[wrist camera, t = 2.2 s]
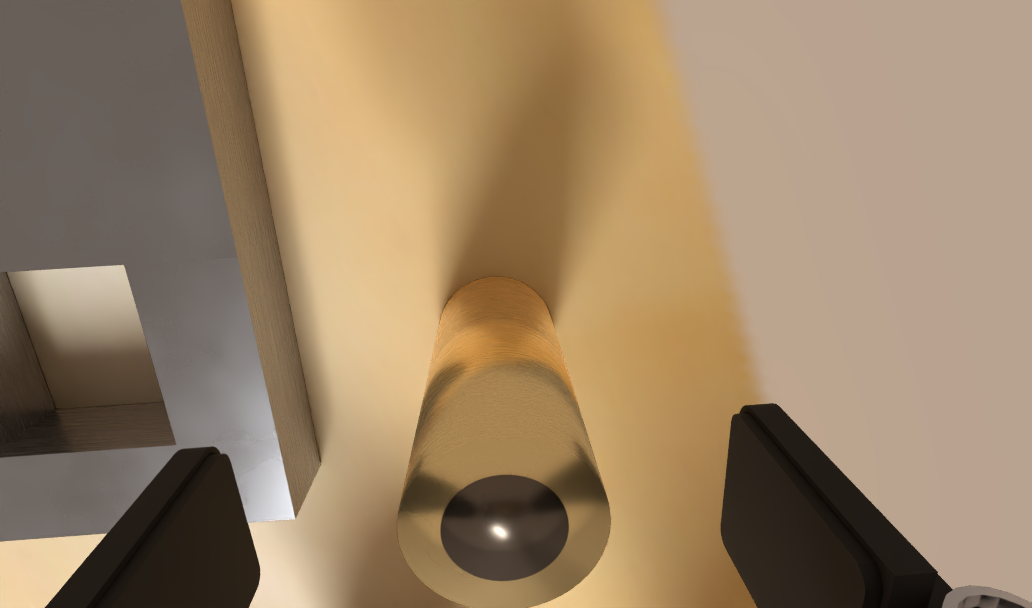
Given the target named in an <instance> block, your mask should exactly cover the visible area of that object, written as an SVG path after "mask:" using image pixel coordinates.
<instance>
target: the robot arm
mask: <svg viewBox="0 0 1032 608" xmlns="http://www.w3.org/2000/svg"><path fill="white" fill-rule="evenodd" d="M721 536H722V540H723V543H724V546H725V548H726V550H727V552H728V554H729V556H730V557H731V559H732V561H733V563H734V565H735V567H736V568H737V570H738V572H739V574H740V576H741V578H742V580H743V581H744V583H745V585H746V587H747V589H748V591H749V593H750V594H751V596H752V598H753V600H754V602H755V604H756V606H757V607H758V608H1032V603H1031V602H1029V601H1027V600H1024V599H1022V598H1020V597H1018V596H1015V595H1013V594H1011V593H1008V592H1004V591H1001V590H997V589H994V588H990V587H981V586H965V587H959V588H955V589H954V590H953V589H952V588H951V587H950V586H949V585H948V584H947V583H946V582H945V581H944V580H943V579H942V578H941V577H940V576H939V575H938V574H937V573H938V572H937V571H936V570H935V569H934V568H933V567H932V566H931V565H930V564H929V563H928V561H927V560H926V559H925V558H924V557H923V556H922V555H921V554H920V553H919V552H918V551H917V550H916V549H915V548H914V547H913V546H912V545H911V544H910V543H909V542H908V541H907V539H906V538H905V537H904V536H903V535H902V534H901V533H900V532H899V531H898V530H897V529H896V528H895V527H894V526H893V525H892V524H891V523H890V522H889V521H888V520H887V519H886V517H885V516H883V514H882V513H881V512H880V511H879V510H878V509H877V508H876V507H875V506H874V505H873V504H872V503H871V502H870V501H869V500H868V499H867V498H866V497H865V496H864V494H863V493H862V492H861V491H860V490H859V489H858V488H857V487H856V486H855V485H854V484H853V483H852V482H851V481H850V480H849V479H848V478H847V477H846V476H845V475H844V474H843V473H842V471H841V470H840V469H839V468H837V466H836V465H835V464H834V463H833V462H832V461H831V460H830V459H829V458H828V457H827V456H826V455H825V454H824V453H823V452H822V451H821V450H820V448H819V447H818V446H817V445H816V444H815V443H814V442H813V441H812V440H811V439H810V438H809V437H808V436H807V435H806V434H805V433H804V432H803V431H802V430H801V429H800V427H798V426H797V424H796V423H795V422H794V421H793V420H792V419H791V418H790V417H789V416H788V415H787V414H786V413H785V412H784V411H783V410H782V409H781V408H780V407H779V406H778V405H777V404H773V403H771V404H758V405H745V406H743V407H742V409H741V411H740V414H735V415H733V417H732V421H731V429H730V439H729V449H728V459H727V469H726V479H725V488H724V498H723V508H722V518H721ZM259 580H260V566H259V562H258V558H257V554H256V551H255V547H254V544H253V540H252V536H251V533H250V529H249V526H248V522H247V518H246V515H245V511H244V507H243V504H242V500H241V497H240V493H239V489H238V486H237V482H236V479H235V475H234V471H233V468H232V464H231V461H230V458H229V456H228V455H227V454H221V453H220V451H219V450H218V449H217V448H216V447H214V446H211V447H198V448H185V449H180V450H178V451H177V452H176V453H175V454H174V455H173V456H172V457H171V459H170V460H169V461H168V462H167V463H166V465H165V466H164V467H163V468H162V469H161V471H160V472H159V473H158V474H157V475H156V476H155V478H154V479H153V480H152V481H151V482H150V484H149V485H148V486H147V487H146V488H145V490H144V491H143V492H142V493H141V494H140V495H139V497H138V498H137V499H136V500H135V501H134V503H133V504H132V505H131V506H130V507H129V509H128V510H127V511H126V512H125V513H124V514H123V516H122V517H121V518H120V519H119V520H118V522H117V523H116V524H115V525H114V526H113V528H112V529H111V530H110V531H109V532H108V533H107V535H106V536H105V537H104V538H103V539H102V541H101V542H100V543H99V544H98V545H97V547H96V548H95V549H94V550H93V551H92V552H91V554H90V555H89V556H88V557H87V558H86V560H85V561H84V562H83V563H82V564H81V566H80V567H79V568H78V569H77V570H76V571H75V573H74V574H73V575H72V576H71V577H70V579H69V580H68V581H67V582H66V583H65V585H64V586H63V587H62V588H61V589H60V590H59V592H58V593H57V594H56V595H55V596H54V598H53V599H52V600H51V601H50V602H49V604H48V605H47V606H46V607H45V608H249V606H250V604H251V601H252V599H253V597H254V595H255V592H256V590H257V587H258V585H259Z"/></svg>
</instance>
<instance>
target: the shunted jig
mask: <svg viewBox="0 0 1032 608" xmlns="http://www.w3.org/2000/svg"><path fill="white" fill-rule="evenodd" d="M110 265H124V266H125V269H126V273H127V276H128V280H129V283H130V287H131V290H132V293H133V297H134V300H135V304H136V307H137V311H138V314H139V317H140V321H141V324H142V328H143V331H144V335H145V338H146V342H147V345H148V348H149V352H150V355H151V359H152V362H153V366H154V369H155V373H156V376H157V379H158V383H159V386H160V390H161V393H162V397H163V400H164V402H158V403H144V404H129V405H115V406H100V407H86V408H71V409H57V410H56V409H55V406H54V404H53V401H52V398H51V395H50V393H49V390H48V387H47V384H46V382H45V379H44V376H43V373H42V371H41V368H40V365H39V363H38V360H37V357H36V354H35V352H34V349H33V346H32V343H31V341H30V338H29V335H28V332H27V330H26V327H25V324H24V321H23V319H22V316H21V313H20V310H19V308H18V305H17V302H16V299H15V297H14V294H13V291H12V288H11V286H10V283H9V280H8V277H7V275H6V272H12V271H29V270H45V269H61V268H77V267H94V266H110ZM211 446H214V447H216V448H217V449H218V450H219V451H220V453H221V454H227V455H228V456H229V458H230V461H231V464H232V468H233V471H234V475H235V479H236V482H237V486H238V489H239V493H240V497H241V500H242V504H243V507H244V511H245V515H246V518H247V522H248V523H250V522H263V521H276V520H290V519H296V517H297V515H298V512H299V510H300V508H301V506H302V504H303V502H304V500H305V497H306V495H307V493H308V491H309V489H310V487H311V485H312V482H313V480H314V478H315V476H316V474H317V472H318V470H319V467H320V465H321V464H320V459H319V453H318V448H317V443H316V438H315V433H314V428H313V423H312V418H311V412H310V407H309V402H308V397H307V392H306V387H305V382H304V377H303V371H302V366H301V361H300V356H299V351H298V346H297V341H296V336H295V330H294V325H293V320H292V315H291V310H290V305H289V300H288V295H287V289H286V284H285V279H284V274H283V269H282V264H281V259H280V253H279V248H278V243H277V238H276V233H275V228H274V223H273V218H272V212H271V207H270V202H269V197H268V192H267V187H266V182H265V177H264V171H263V166H262V161H261V156H260V151H259V146H258V141H257V136H256V130H255V125H254V120H253V115H252V110H251V105H250V100H249V95H248V89H247V84H246V79H245V74H244V69H243V64H242V59H241V54H240V48H239V43H238V38H237V33H236V28H235V23H234V18H233V12H232V7H231V2H230V0H0V541H12V540H26V539H39V538H52V537H65V536H78V535H92V534H105V533H108V532H109V531H110V530H111V529H112V528H113V526H114V525H115V524H116V523H117V522H118V520H119V519H120V518H121V517H122V516H123V514H124V513H125V512H126V511H127V510H128V509H129V507H130V506H131V505H132V504H133V503H134V501H135V500H136V499H137V498H138V497H139V495H140V494H141V493H142V492H143V491H144V490H145V488H146V487H147V486H148V485H149V484H150V482H151V481H152V480H153V479H154V478H155V476H156V475H157V474H158V473H159V472H160V471H161V469H162V468H163V467H164V466H165V465H166V463H167V462H168V461H169V460H170V459H171V457H172V456H173V455H174V454H175V453H176V452H177V451H178V450H180V449H185V448H198V447H211Z"/></svg>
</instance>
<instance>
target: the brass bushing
mask: <svg viewBox="0 0 1032 608" xmlns="http://www.w3.org/2000/svg"><path fill="white" fill-rule="evenodd" d="M610 525H611V516H610V507H609V503H608V499H607V495H606V492H605V489H604V486H603V483H602V480H601V476H600V473H599V470H598V467H597V464H596V460H595V457H594V454H593V451H592V448H591V444H590V441H589V438H588V435H587V432H586V428H585V425H584V422H583V419H582V416H581V412H580V409H579V406H578V403H577V400H576V396H575V393H574V390H573V387H572V384H571V380H570V377H569V374H568V371H567V368H566V364H565V361H564V358H563V355H562V352H561V349H560V345H559V342H558V339H557V336H556V333H555V329H554V326H553V323H552V320H551V317H550V313H549V311H548V308H547V306H546V305H545V303H544V301H543V300H542V299H541V297H540V296H539V295H538V294H537V293H536V292H535V291H534V290H533V289H531V288H530V287H529V286H527V285H525V284H524V283H522V282H519V281H517V280H514V279H510V278H505V277H487V278H482V279H478V280H475V281H473V282H470V283H469V284H467V285H465V286H463V287H462V288H461V289H459V290H458V291H457V292H456V293H455V294H454V295H453V296H452V297H451V298H450V300H449V301H448V303H447V304H446V306H445V308H444V310H443V313H442V316H441V320H440V324H439V328H438V333H437V338H436V342H435V347H434V351H433V356H432V361H431V365H430V370H429V374H428V379H427V383H426V388H425V393H424V397H423V402H422V406H421V411H420V416H419V420H418V425H417V429H416V434H415V438H414V443H413V448H412V452H411V457H410V461H409V466H408V471H407V475H406V480H405V484H404V489H403V493H402V498H401V503H400V507H399V512H398V520H397V534H398V541H399V545H400V549H401V551H402V554H403V556H404V559H405V560H406V562H407V564H408V565H409V567H410V569H411V570H412V571H413V572H414V574H415V575H416V576H417V577H418V578H419V579H420V580H421V581H422V582H423V583H424V584H425V585H426V586H427V587H429V588H430V589H431V590H433V591H434V592H435V593H437V594H439V595H441V596H442V597H444V598H446V599H448V600H450V601H453V602H455V603H458V604H461V605H464V606H468V607H471V608H528V607H533V606H537V605H540V604H542V603H545V602H548V601H550V600H553V599H555V598H557V597H559V596H561V595H563V594H564V593H566V592H568V591H569V590H571V589H572V588H573V587H575V586H576V585H577V584H579V583H580V582H581V581H582V580H583V579H584V578H585V577H586V576H587V575H588V574H589V573H590V572H591V571H592V569H593V568H594V567H595V566H596V564H597V563H598V561H599V559H600V558H601V556H602V554H603V552H604V550H605V547H606V545H607V542H608V538H609V533H610Z"/></svg>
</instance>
